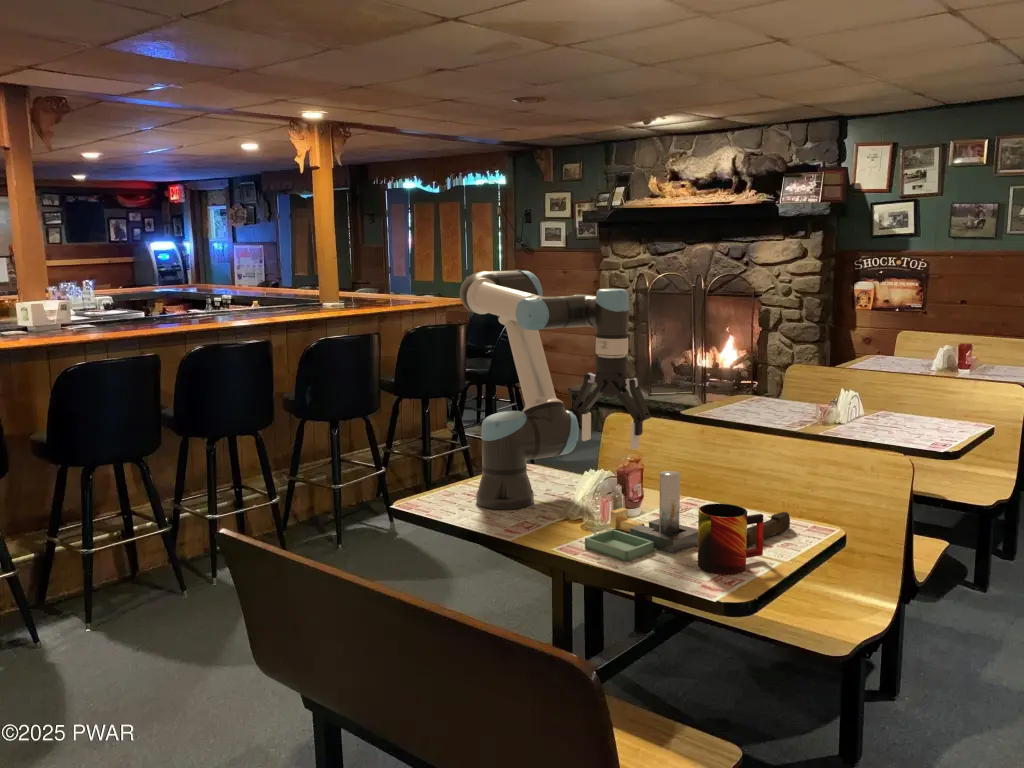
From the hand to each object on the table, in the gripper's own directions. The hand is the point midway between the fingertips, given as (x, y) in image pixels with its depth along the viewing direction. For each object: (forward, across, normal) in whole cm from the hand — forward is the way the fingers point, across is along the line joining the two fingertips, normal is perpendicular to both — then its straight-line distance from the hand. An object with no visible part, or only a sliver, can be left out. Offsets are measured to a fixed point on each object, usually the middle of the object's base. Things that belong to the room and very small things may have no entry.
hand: (610, 444), depth 198 cm
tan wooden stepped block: (+19, +7, -3) cm, 20 cm away
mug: (+19, +35, -9) cm, 40 cm away
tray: (+19, +12, -15) cm, 27 cm away
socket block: (+19, +18, -5) cm, 27 cm away
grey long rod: (+19, +19, -5) cm, 27 cm away
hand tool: (+19, +34, +12) cm, 41 cm away
